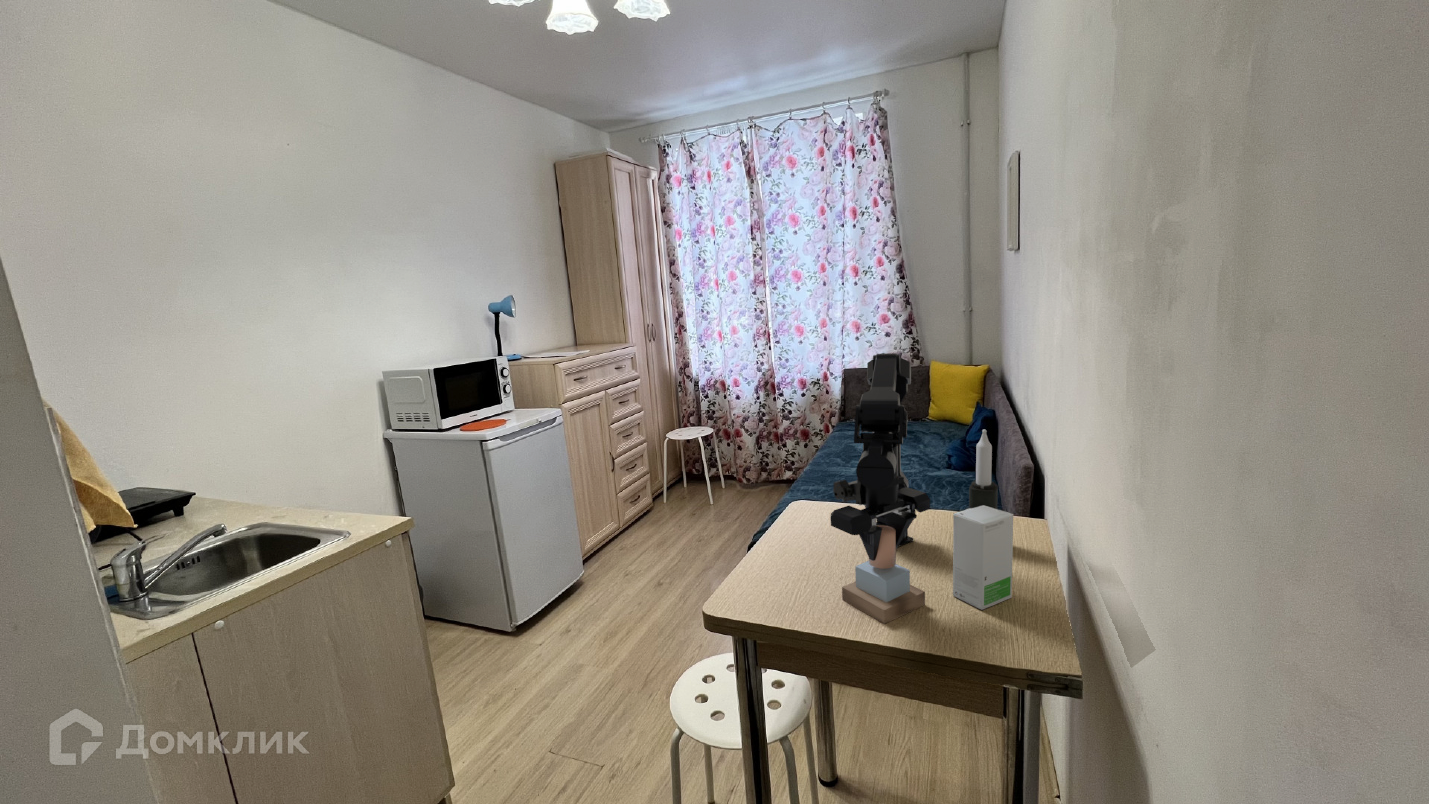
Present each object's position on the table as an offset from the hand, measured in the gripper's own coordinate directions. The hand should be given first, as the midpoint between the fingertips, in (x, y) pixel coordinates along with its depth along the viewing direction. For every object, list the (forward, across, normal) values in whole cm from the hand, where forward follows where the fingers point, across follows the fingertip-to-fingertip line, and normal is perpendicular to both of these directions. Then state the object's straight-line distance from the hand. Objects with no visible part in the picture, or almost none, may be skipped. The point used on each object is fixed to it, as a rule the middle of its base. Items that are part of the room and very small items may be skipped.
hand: (882, 555), depth 103 cm
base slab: (+9, 0, 0) cm, 9 cm away
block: (+6, 0, 0) cm, 6 cm away
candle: (+9, -34, -4) cm, 35 cm away
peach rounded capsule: (+1, 0, 0) cm, 1 cm away
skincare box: (+9, -15, +9) cm, 20 cm away
